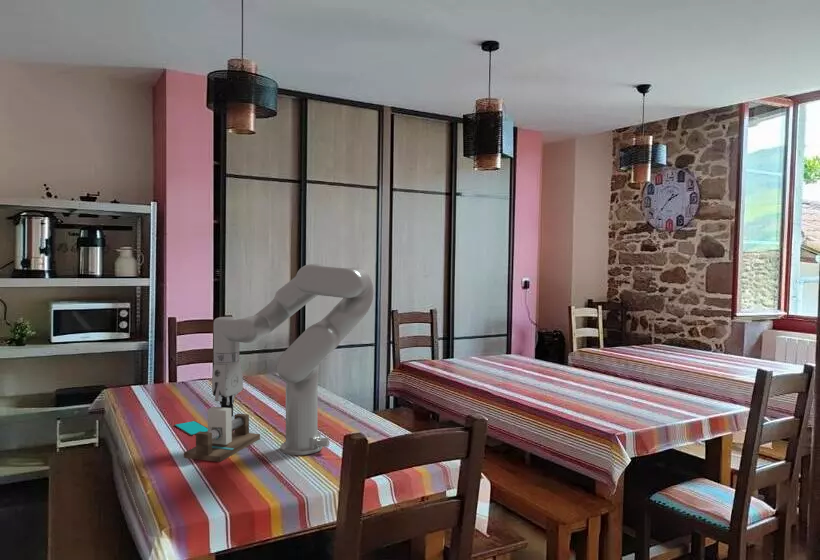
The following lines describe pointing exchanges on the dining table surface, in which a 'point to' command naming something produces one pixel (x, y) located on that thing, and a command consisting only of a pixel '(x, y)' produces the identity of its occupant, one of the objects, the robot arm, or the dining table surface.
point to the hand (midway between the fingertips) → (227, 416)
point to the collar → (221, 423)
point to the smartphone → (191, 427)
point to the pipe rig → (222, 451)
